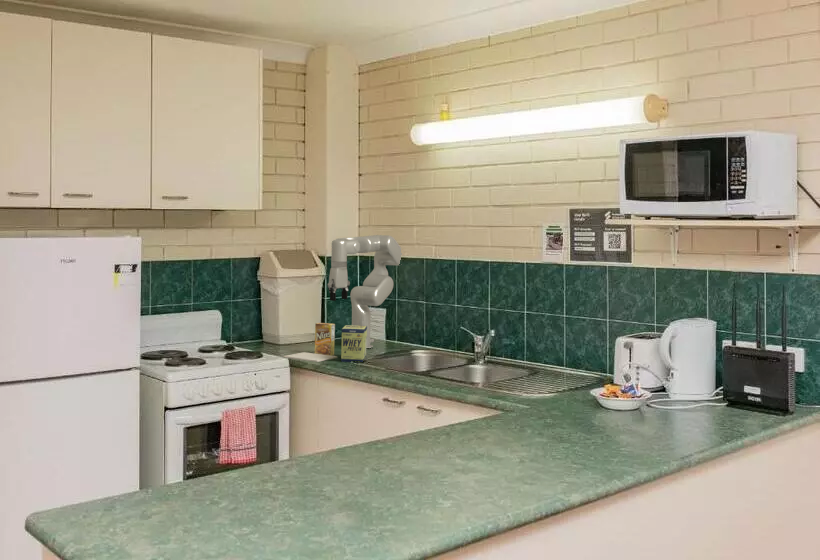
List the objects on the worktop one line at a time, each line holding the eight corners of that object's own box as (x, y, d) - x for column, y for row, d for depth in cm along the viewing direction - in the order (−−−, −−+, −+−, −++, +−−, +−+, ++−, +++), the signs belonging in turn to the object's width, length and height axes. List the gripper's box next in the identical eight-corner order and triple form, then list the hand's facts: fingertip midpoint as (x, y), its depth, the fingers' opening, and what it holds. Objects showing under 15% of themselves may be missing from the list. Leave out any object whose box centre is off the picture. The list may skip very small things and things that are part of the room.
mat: (304, 353, 440) (304, 352, 440) (337, 357, 430) (337, 356, 430) (283, 357, 426) (283, 356, 426) (317, 361, 416) (317, 360, 416)
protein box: (340, 362, 418) (341, 328, 417) (344, 356, 433) (345, 324, 432) (363, 362, 417) (364, 329, 416) (366, 357, 433) (367, 325, 432)
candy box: (314, 354, 437) (314, 323, 436) (318, 353, 441) (318, 322, 440) (330, 356, 434) (331, 324, 433) (334, 355, 438) (335, 323, 437)
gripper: (343, 263, 453) (342, 297, 454) (322, 265, 438) (321, 300, 440) (355, 264, 449) (355, 298, 450) (334, 266, 434) (334, 301, 436)
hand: (338, 299), depth 445 cm, fingers open, 9 cm apart
